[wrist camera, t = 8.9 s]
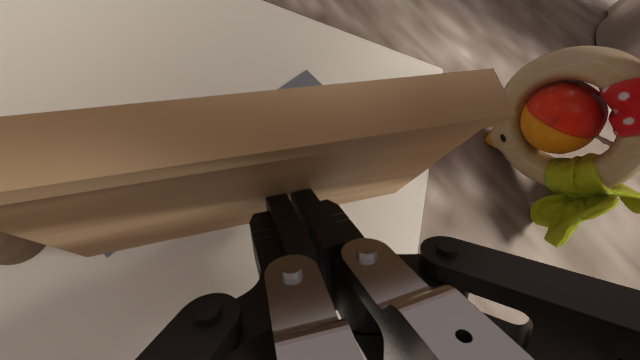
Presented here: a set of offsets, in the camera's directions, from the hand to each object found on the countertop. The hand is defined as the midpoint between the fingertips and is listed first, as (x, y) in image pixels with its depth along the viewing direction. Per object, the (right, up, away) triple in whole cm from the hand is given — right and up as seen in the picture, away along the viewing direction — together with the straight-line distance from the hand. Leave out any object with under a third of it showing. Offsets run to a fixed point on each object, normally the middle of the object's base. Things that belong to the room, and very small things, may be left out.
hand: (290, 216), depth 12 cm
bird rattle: (+13, +2, +8) cm, 15 cm away
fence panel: (-2, 0, +2) cm, 3 cm away
